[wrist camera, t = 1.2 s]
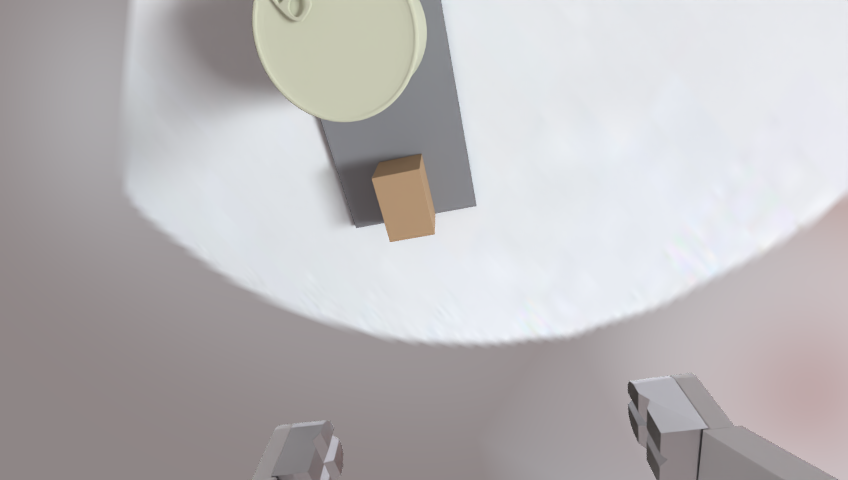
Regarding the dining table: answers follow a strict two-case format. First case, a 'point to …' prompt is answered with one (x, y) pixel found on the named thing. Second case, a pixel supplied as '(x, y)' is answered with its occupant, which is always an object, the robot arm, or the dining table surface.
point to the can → (340, 52)
